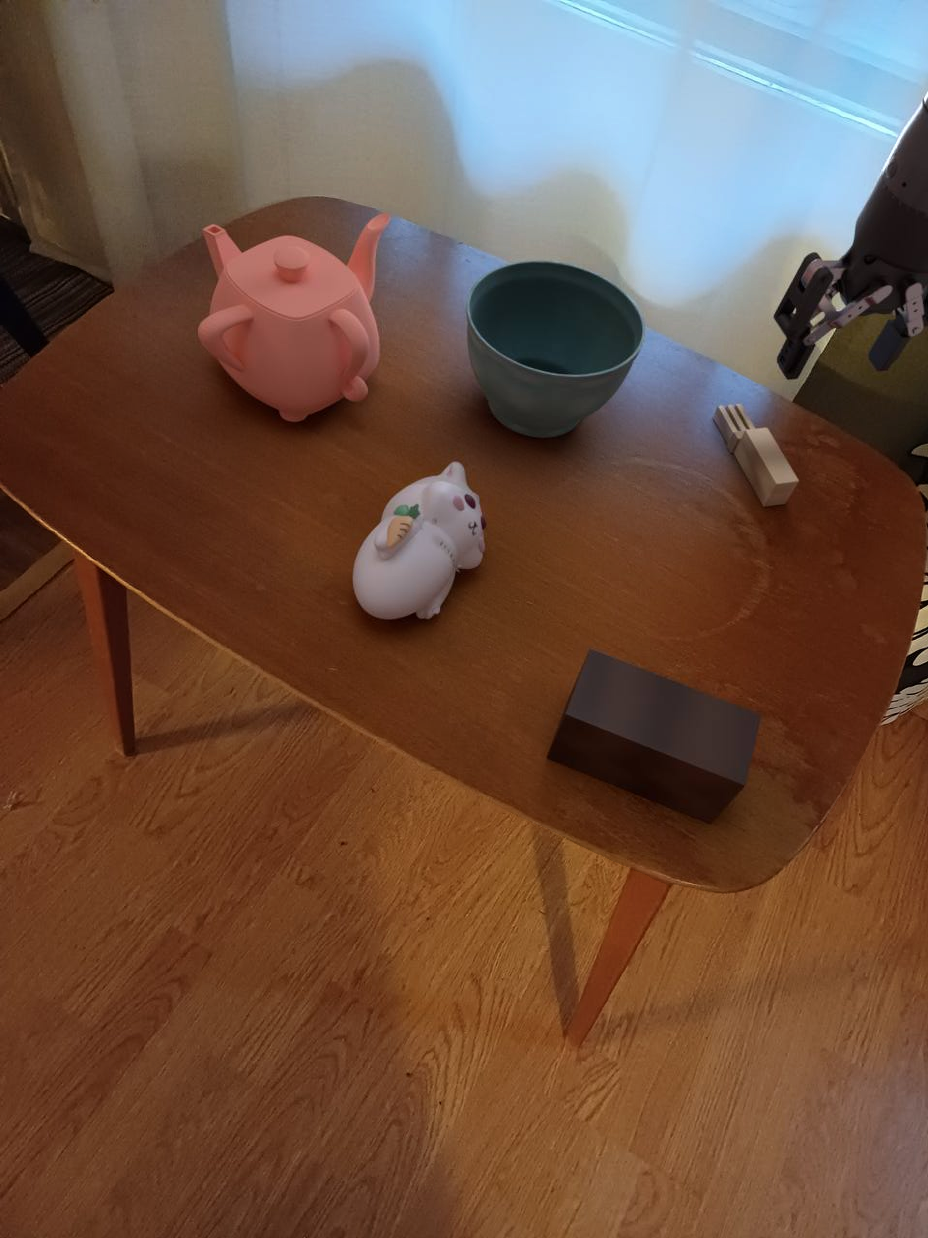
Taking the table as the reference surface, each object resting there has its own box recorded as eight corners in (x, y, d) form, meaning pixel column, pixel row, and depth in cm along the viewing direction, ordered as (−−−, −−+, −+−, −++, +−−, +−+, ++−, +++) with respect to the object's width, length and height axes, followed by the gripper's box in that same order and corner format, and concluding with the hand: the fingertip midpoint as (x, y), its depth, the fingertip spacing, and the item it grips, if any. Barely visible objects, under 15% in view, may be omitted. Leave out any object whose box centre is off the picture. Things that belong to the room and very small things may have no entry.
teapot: (214, 319, 93) (199, 193, 82) (383, 323, 96) (390, 202, 85) (207, 435, 84) (189, 311, 73) (393, 436, 87) (403, 318, 76)
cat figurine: (377, 572, 66) (479, 433, 72) (302, 560, 71) (404, 430, 77) (433, 655, 72) (523, 520, 79) (361, 639, 77) (451, 512, 84)
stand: (727, 757, 72) (761, 714, 66) (711, 824, 68) (745, 785, 62) (569, 694, 73) (589, 647, 67) (546, 757, 70) (565, 713, 64)
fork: (788, 503, 88) (802, 480, 85) (760, 507, 87) (773, 484, 84) (737, 414, 94) (748, 390, 91) (710, 417, 93) (721, 393, 91)
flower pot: (478, 333, 96) (493, 240, 87) (628, 376, 95) (659, 286, 86) (433, 436, 87) (444, 344, 78) (598, 485, 86) (628, 397, 77)
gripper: (875, 220, 59) (775, 408, 73) (1055, 210, 63) (928, 392, 76) (822, 154, 63) (736, 345, 76) (994, 149, 66) (883, 332, 80)
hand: (832, 368), depth 76 cm, fingers open, 8 cm apart
